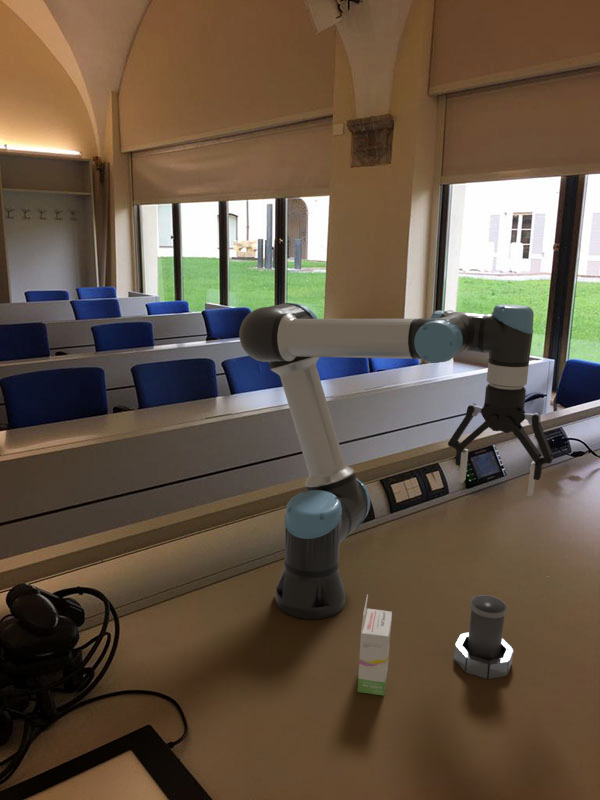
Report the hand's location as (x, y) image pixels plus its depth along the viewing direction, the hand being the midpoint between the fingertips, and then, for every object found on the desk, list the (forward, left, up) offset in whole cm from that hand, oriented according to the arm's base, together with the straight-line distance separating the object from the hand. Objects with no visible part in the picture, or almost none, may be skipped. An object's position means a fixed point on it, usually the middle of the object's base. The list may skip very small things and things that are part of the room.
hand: (495, 487), depth 137 cm
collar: (+4, -16, -29) cm, 33 cm away
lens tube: (+4, -16, -29) cm, 33 cm away
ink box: (-12, -32, -29) cm, 45 cm away
